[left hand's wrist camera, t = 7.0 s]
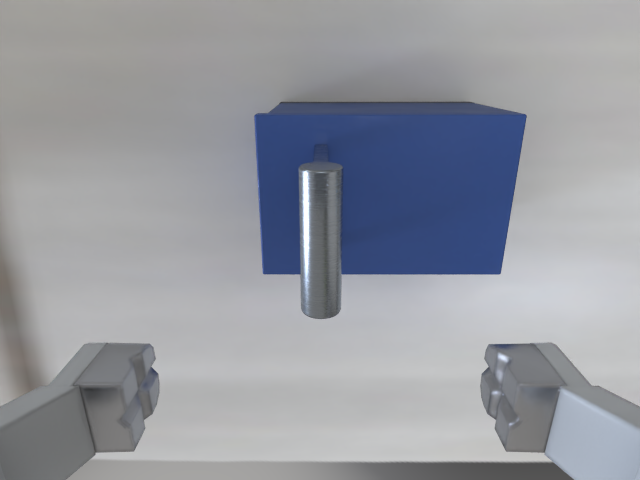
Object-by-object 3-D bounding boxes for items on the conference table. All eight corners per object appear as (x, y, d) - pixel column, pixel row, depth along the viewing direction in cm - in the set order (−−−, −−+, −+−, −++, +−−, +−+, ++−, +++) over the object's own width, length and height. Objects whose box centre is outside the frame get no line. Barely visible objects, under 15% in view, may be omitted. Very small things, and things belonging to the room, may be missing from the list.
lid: (264, 269, 27) (242, 346, 19) (256, 113, 24) (225, 133, 16) (495, 268, 27) (564, 346, 19) (520, 113, 23) (615, 133, 16)
